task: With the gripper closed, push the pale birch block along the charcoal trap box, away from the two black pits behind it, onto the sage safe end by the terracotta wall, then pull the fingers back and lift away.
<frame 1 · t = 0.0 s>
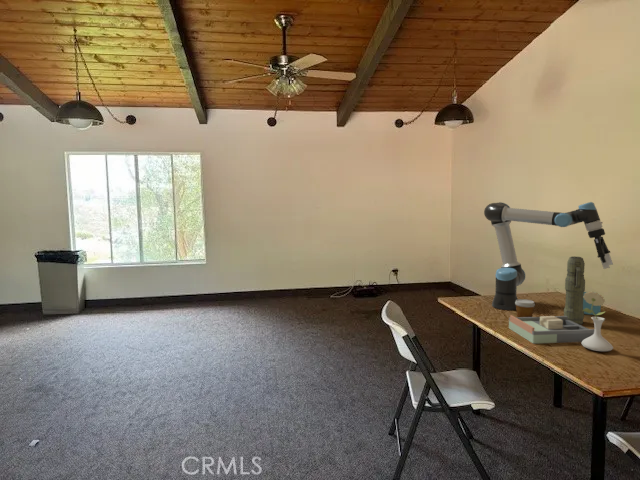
hand: (608, 266, 216), 28 cm above the table, tool tilted 20°, fingers open, 13 cm apart
birch block: (550, 326, 192), point 4 cm above the table, touching trap box
flower in vase: (594, 348, 173), on the table
thermos: (573, 322, 210), on the table
trap box: (552, 334, 192), on the table
data package: (586, 313, 225), on the table
disposable coffee cup: (524, 323, 210), on the table
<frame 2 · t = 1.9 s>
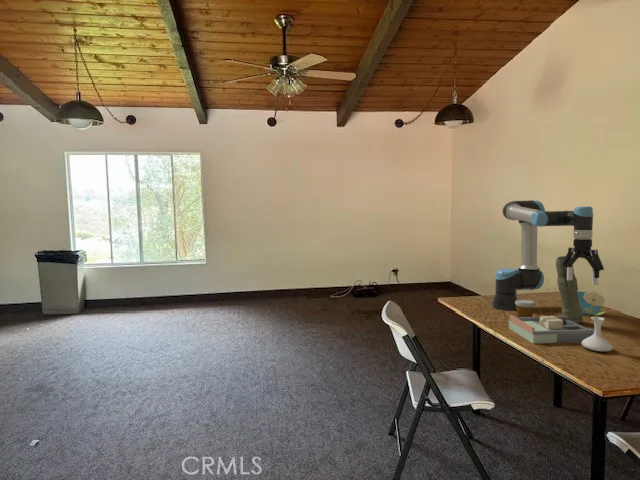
hand: (581, 282, 191), 25 cm above the table, tool pointing down, fingers open, 13 cm apart
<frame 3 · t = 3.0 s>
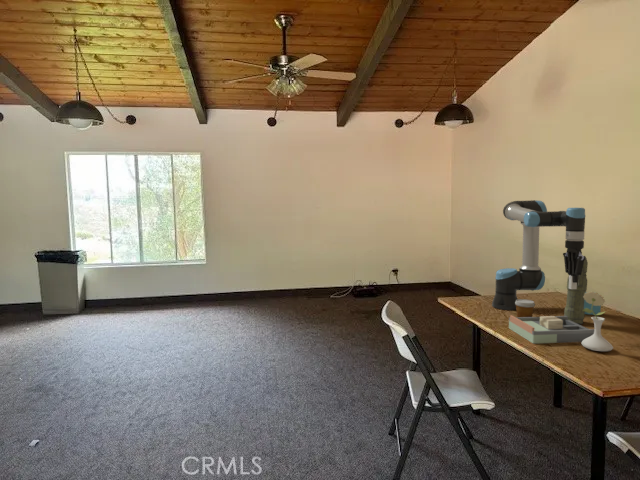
hand: (572, 288, 190), 22 cm above the table, tool pointing down, fingers closed
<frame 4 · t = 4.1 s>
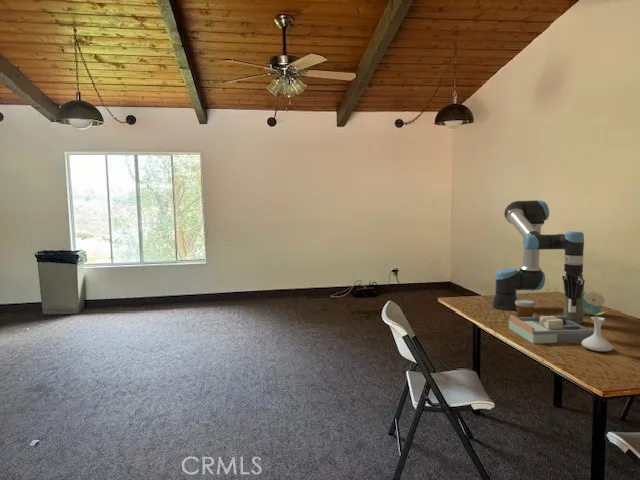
hand: (571, 312, 191), 11 cm above the table, tool pointing down, fingers closed
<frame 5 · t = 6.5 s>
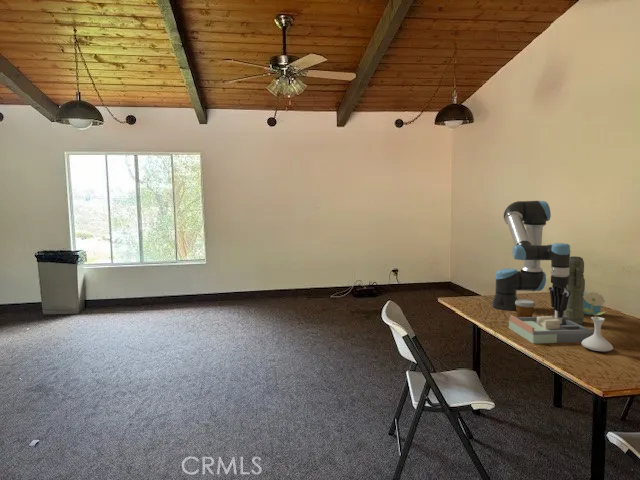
hand: (558, 323, 192), 5 cm above the table, tool pointing down, fingers closed
birch block: (547, 326, 192), point 4 cm above the table, touching gripper
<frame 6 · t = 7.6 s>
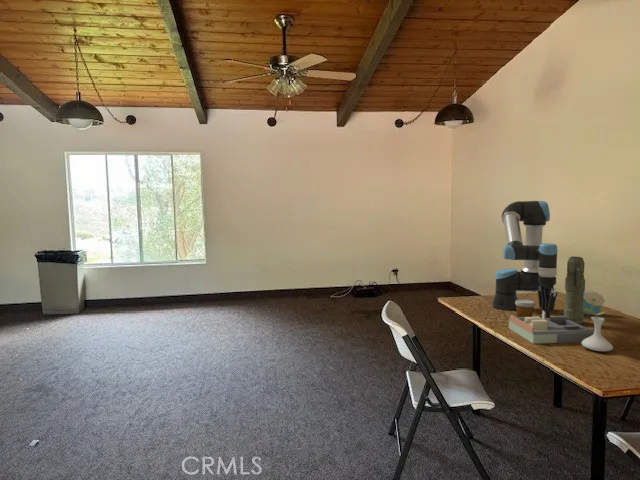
hand: (545, 323, 191), 5 cm above the table, tool pointing down, fingers closed
birch block: (535, 327, 191), point 4 cm above the table, touching gripper
everything else where it was.
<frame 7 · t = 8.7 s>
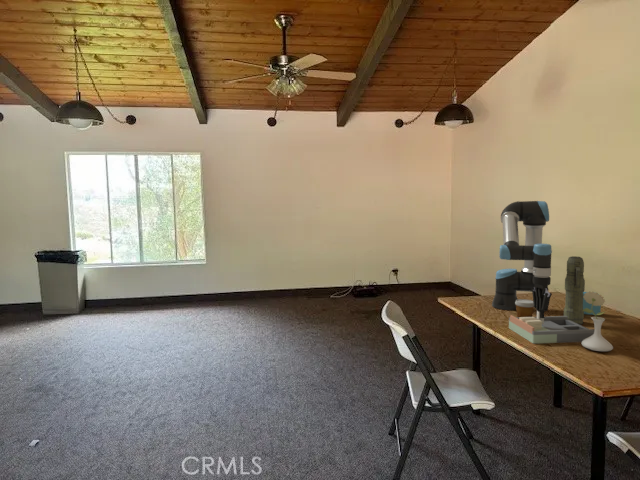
hand: (540, 323, 191), 5 cm above the table, tool pointing down, fingers closed
birch block: (530, 327, 191), point 4 cm above the table, touching gripper, trap box
everything else where it was.
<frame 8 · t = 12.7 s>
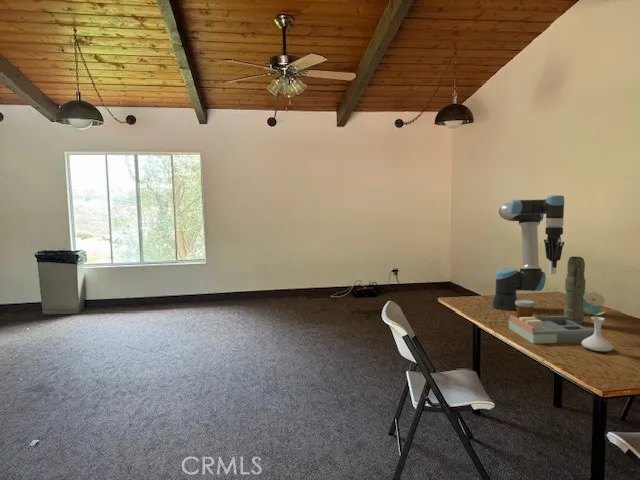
hand: (552, 273, 197), 28 cm above the table, tool pointing down, fingers closed
birch block: (530, 327, 191), point 4 cm above the table, touching trap box
everything else where it was.
at the end: birch block inside the target area on the trap box (1.2 cm from its centre), point 4.0 cm above the trap box's base; birch block tilted 0° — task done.
